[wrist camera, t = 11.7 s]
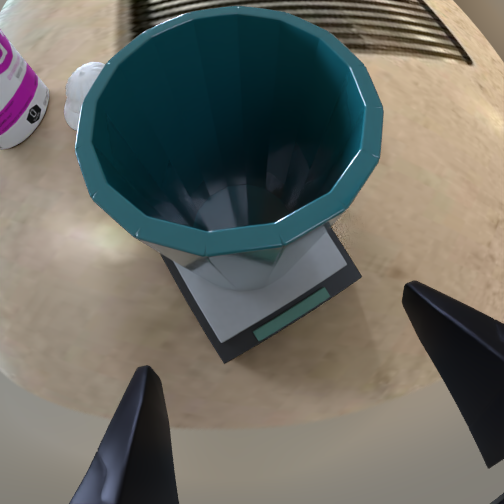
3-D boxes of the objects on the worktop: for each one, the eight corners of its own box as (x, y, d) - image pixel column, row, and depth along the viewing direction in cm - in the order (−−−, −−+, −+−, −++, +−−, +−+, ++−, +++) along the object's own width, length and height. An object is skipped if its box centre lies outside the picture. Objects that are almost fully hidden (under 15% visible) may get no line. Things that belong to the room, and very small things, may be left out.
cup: (321, 224, 19) (423, 89, 6) (254, 314, 18) (256, 335, 5) (233, 162, 19) (211, -14, 7) (165, 245, 18) (31, 141, 6)
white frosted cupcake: (156, 130, 23) (128, 75, 16) (90, 164, 22) (46, 122, 15) (137, 83, 24) (112, 30, 17) (79, 114, 23) (43, 70, 16)
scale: (352, 279, 21) (365, 275, 18) (227, 358, 20) (223, 365, 17) (260, 142, 22) (261, 123, 20) (142, 209, 22) (130, 197, 19)
